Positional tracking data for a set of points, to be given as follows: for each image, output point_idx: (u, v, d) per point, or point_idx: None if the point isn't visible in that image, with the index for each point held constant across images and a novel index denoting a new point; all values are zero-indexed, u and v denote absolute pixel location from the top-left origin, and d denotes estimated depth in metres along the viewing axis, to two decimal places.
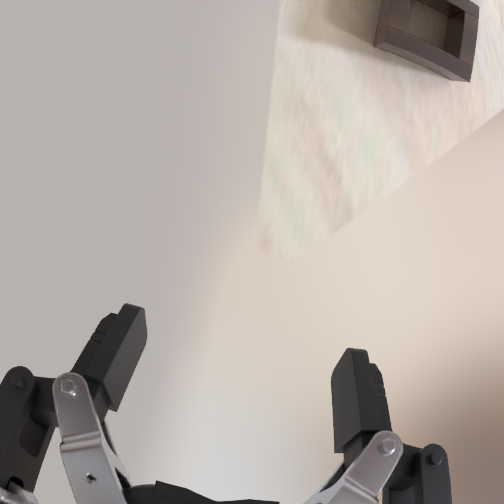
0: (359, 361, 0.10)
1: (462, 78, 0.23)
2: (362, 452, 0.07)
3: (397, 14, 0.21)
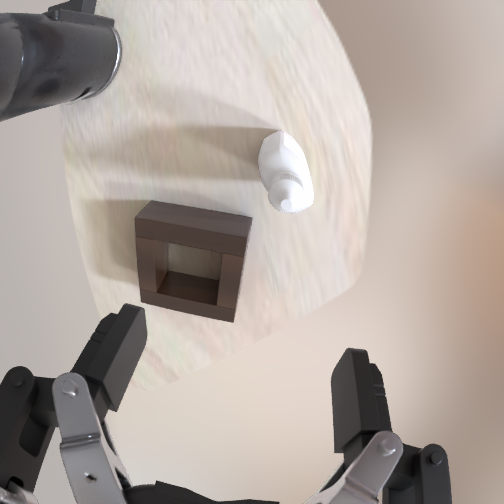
0: (359, 361, 0.10)
1: None
2: (362, 452, 0.07)
3: (144, 277, 0.32)
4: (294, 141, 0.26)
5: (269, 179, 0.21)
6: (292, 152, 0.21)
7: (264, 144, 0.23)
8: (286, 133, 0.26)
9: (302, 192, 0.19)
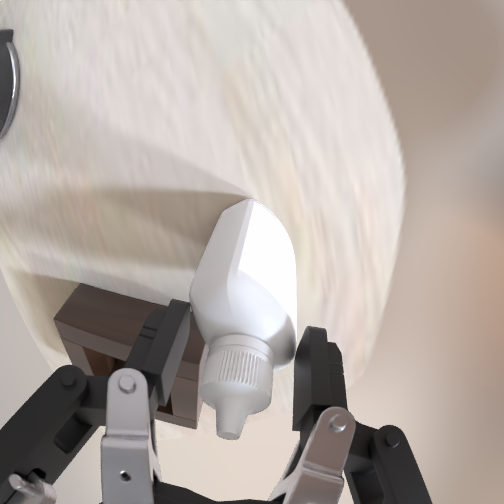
0: (316, 338, 0.10)
1: None
2: (313, 433, 0.07)
3: None
4: (271, 221, 0.16)
5: (209, 339, 0.11)
6: (255, 285, 0.11)
7: (210, 245, 0.13)
8: (258, 205, 0.16)
9: (265, 398, 0.09)
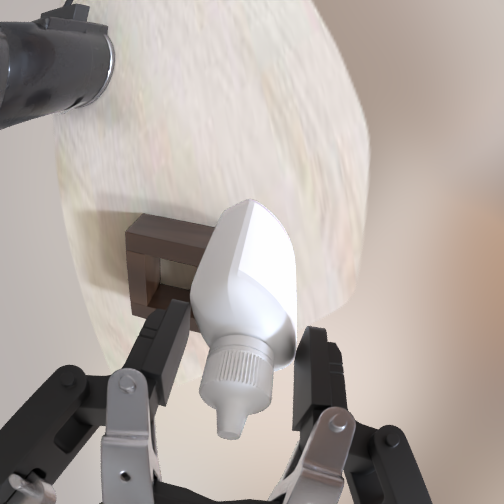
0: (316, 338, 0.10)
1: None
2: (313, 433, 0.07)
3: (135, 291, 0.32)
4: (272, 222, 0.16)
5: (210, 339, 0.11)
6: (256, 286, 0.11)
7: (211, 245, 0.13)
8: (258, 206, 0.16)
9: (265, 398, 0.09)
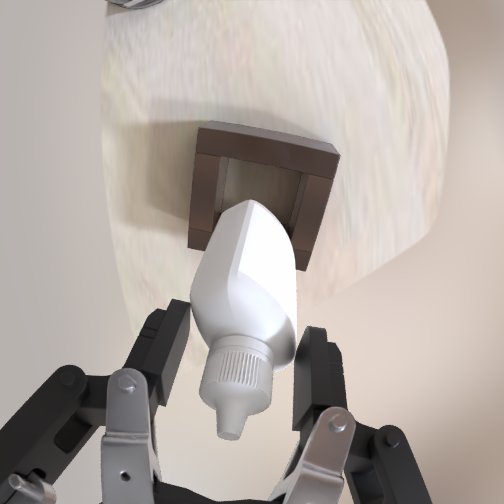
0: (316, 338, 0.10)
1: (295, 267, 0.29)
2: (313, 433, 0.07)
3: (199, 211, 0.26)
4: (271, 222, 0.16)
5: (209, 340, 0.11)
6: (256, 287, 0.11)
7: (211, 246, 0.13)
8: (258, 206, 0.16)
9: (265, 399, 0.09)
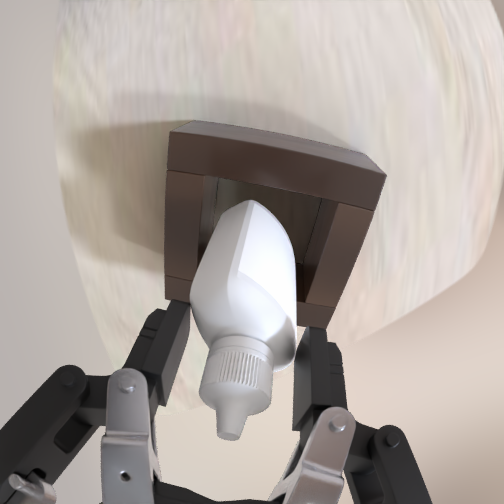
0: (316, 338, 0.10)
1: None
2: (313, 433, 0.07)
3: (176, 253, 0.18)
4: (271, 222, 0.16)
5: (209, 340, 0.11)
6: (255, 287, 0.11)
7: (210, 246, 0.13)
8: (258, 206, 0.16)
9: (265, 399, 0.09)
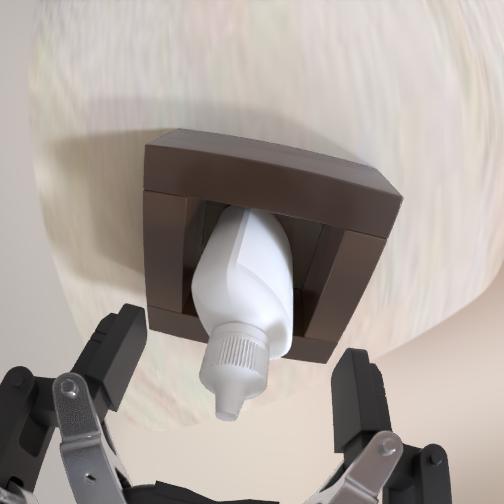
0: (359, 361, 0.10)
1: None
2: (362, 452, 0.07)
3: (159, 283, 0.16)
4: (269, 219, 0.17)
5: (210, 328, 0.12)
6: (253, 277, 0.12)
7: (211, 241, 0.14)
8: None
9: (261, 382, 0.09)
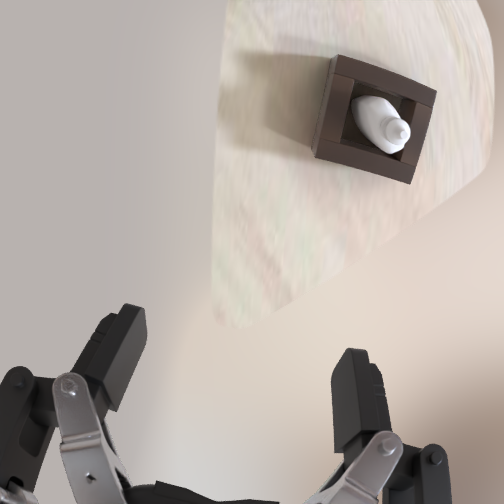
0: (359, 361, 0.10)
1: None
2: (362, 452, 0.07)
3: (331, 123, 0.28)
4: None
5: (378, 122, 0.24)
6: (391, 105, 0.23)
7: (363, 100, 0.26)
8: None
9: (409, 130, 0.21)
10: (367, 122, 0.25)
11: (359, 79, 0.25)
